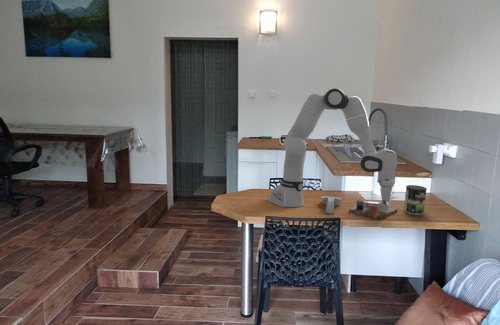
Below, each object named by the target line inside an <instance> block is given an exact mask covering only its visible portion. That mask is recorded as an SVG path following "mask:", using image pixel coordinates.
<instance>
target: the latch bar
mask: <svg viewBox="0 0 500 325" xmlns="http://www.w3.org/2000/svg"><path fill="white" fill-rule="evenodd" d="M388 202H389V201H386V202H383V203H382V201H381V202H380V201H368V200H361V199H358V200H356V206H355V207H359V208H368V206H369V205H370V204H372V205H376V206H380V209H381V210H388V207H389V203H388Z"/></svg>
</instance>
